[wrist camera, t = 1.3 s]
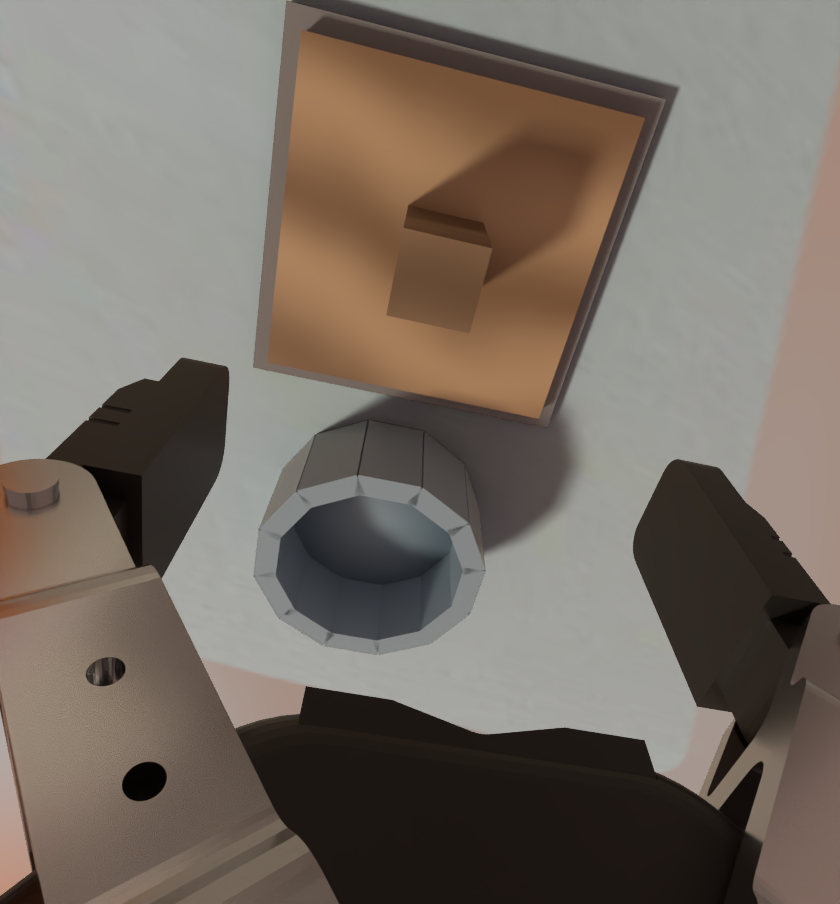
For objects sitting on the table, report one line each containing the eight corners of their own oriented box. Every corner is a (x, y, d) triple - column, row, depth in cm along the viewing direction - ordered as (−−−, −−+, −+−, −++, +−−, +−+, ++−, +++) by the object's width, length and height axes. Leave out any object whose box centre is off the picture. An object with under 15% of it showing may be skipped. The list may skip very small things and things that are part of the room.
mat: (289, 2, 22) (286, 0, 22) (661, 99, 24) (666, 99, 23) (256, 362, 29) (253, 367, 29) (544, 422, 31) (546, 427, 30)
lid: (305, 31, 22) (272, 17, 18) (639, 116, 23) (688, 124, 19) (271, 355, 28) (239, 407, 24) (536, 410, 30) (555, 470, 25)
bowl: (290, 404, 30) (266, 457, 26) (498, 446, 31) (509, 504, 27) (269, 566, 36) (247, 633, 31) (449, 598, 36) (451, 667, 32)
